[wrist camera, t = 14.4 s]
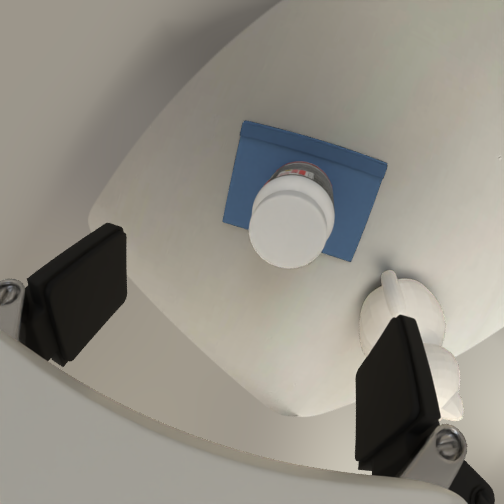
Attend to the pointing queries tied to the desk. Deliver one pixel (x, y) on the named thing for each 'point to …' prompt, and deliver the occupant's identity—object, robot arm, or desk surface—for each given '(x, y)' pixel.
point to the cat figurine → (431, 330)
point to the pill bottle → (292, 215)
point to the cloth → (315, 152)
